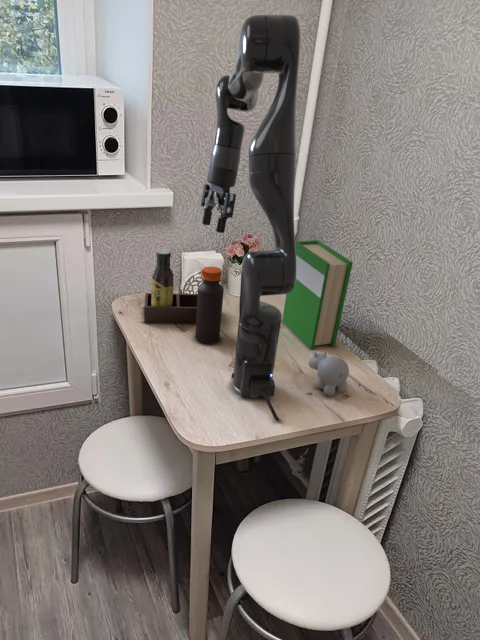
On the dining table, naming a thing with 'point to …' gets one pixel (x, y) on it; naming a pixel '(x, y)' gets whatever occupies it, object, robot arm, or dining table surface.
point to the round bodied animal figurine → (330, 372)
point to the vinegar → (209, 306)
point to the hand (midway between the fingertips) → (212, 228)
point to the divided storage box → (172, 310)
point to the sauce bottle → (162, 280)
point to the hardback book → (317, 293)
